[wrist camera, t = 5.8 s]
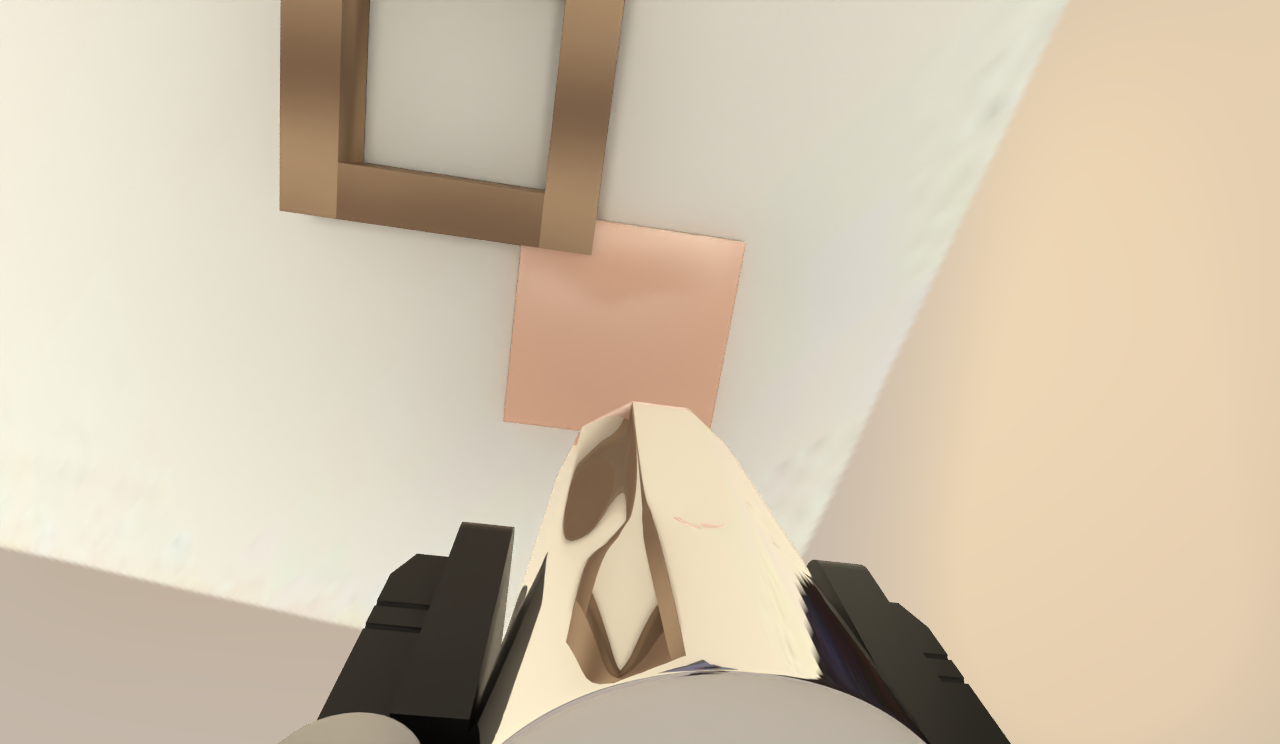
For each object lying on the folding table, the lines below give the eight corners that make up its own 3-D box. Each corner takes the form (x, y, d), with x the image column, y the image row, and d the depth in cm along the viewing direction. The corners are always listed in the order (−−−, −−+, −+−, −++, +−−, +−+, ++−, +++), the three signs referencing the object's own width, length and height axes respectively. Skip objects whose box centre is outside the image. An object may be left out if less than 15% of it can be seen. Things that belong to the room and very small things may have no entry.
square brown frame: (316, -119, 22) (281, -154, 19) (631, -59, 23) (635, -85, 20) (310, 205, 24) (279, 210, 22) (591, 246, 25) (591, 255, 23)
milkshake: (468, 565, 13) (125, 1580, 4) (589, 322, 12) (536, 913, 3) (676, 648, 14) (827, 1662, 5) (810, 428, 13) (1407, 1187, 3)
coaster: (526, 208, 25) (524, 210, 24) (742, 241, 26) (746, 242, 25) (505, 415, 27) (503, 421, 27) (704, 439, 28) (707, 445, 27)
